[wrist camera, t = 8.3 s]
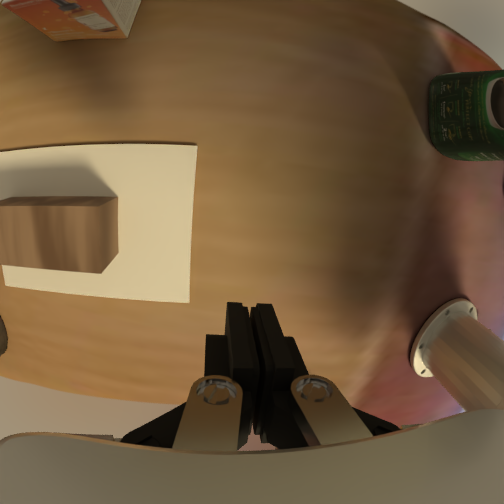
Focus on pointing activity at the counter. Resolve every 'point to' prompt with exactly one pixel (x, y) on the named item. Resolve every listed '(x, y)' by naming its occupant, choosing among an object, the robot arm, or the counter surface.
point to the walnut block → (59, 232)
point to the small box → (77, 17)
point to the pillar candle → (3, 337)
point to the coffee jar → (468, 115)
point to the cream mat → (129, 214)
